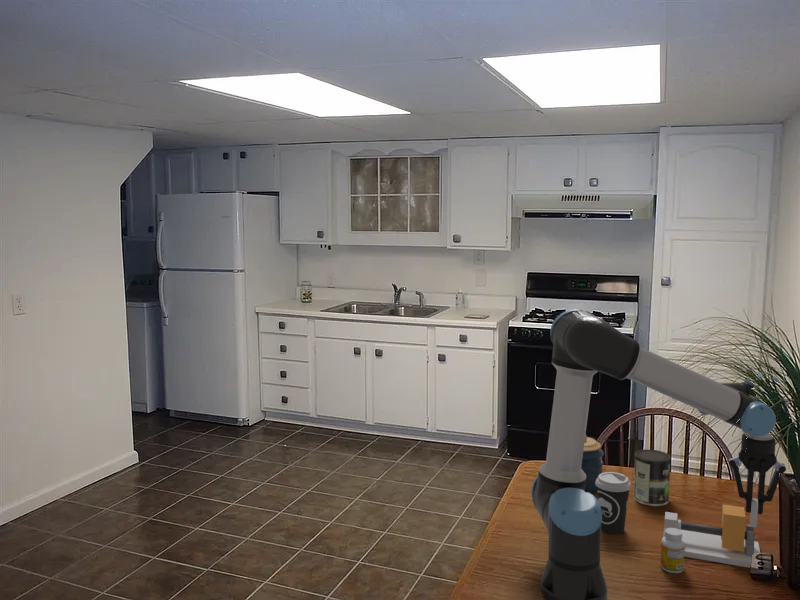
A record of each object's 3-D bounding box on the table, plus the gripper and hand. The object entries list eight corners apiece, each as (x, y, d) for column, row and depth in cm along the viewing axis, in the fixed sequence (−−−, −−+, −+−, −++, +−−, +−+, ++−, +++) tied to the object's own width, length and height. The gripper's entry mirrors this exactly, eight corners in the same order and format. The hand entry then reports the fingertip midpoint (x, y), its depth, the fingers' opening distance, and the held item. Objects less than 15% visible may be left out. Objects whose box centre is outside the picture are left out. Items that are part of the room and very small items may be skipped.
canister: (554, 480, 225) (555, 428, 222) (591, 477, 227) (592, 425, 225) (571, 497, 212) (572, 442, 210) (610, 493, 215) (611, 439, 212)
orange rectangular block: (743, 551, 173) (745, 517, 172) (721, 548, 175) (723, 514, 174) (742, 540, 179) (744, 507, 177) (720, 537, 180) (722, 504, 179)
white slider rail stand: (762, 569, 169) (763, 540, 168) (662, 552, 178) (663, 524, 177) (757, 547, 180) (759, 519, 179) (664, 532, 189) (665, 505, 188)
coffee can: (671, 496, 212) (673, 452, 209) (665, 509, 203) (667, 463, 201) (637, 489, 217) (638, 446, 215) (629, 502, 208) (630, 457, 206)
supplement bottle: (660, 560, 174) (661, 524, 173) (683, 564, 172) (685, 528, 171) (660, 571, 169) (661, 534, 168) (683, 575, 167) (685, 538, 166)
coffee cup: (632, 538, 186) (633, 485, 184) (595, 535, 188) (596, 483, 186) (627, 522, 195) (629, 472, 193) (592, 519, 197) (594, 469, 195)
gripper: (786, 433, 172) (780, 522, 175) (729, 427, 177) (724, 514, 180) (790, 443, 165) (784, 536, 168) (730, 437, 170) (725, 526, 173)
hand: (753, 524), depth 174 cm, fingers closed
